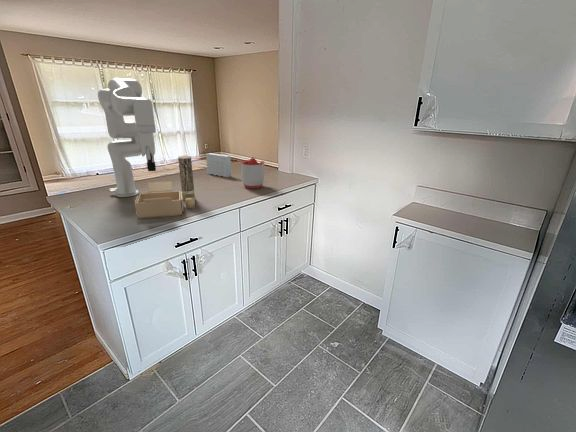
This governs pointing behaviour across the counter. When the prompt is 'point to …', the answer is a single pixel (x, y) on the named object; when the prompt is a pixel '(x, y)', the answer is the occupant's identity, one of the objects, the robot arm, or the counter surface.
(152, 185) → the far flap
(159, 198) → the near flap
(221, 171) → the skincare box
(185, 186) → the paper tube
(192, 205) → the white-capped tan cylinder
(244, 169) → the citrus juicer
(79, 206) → the counter surface
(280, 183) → the counter surface
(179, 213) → the carton
